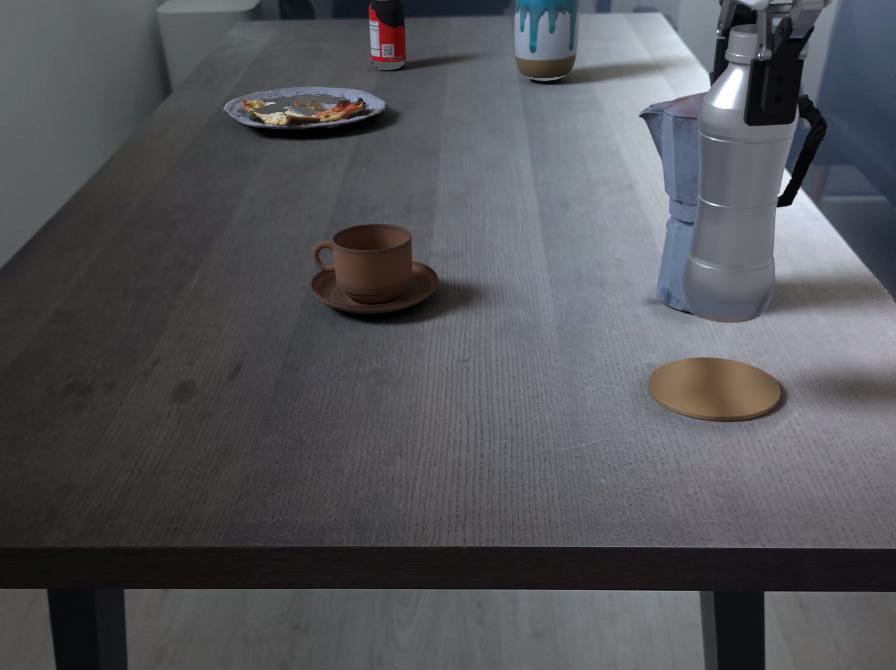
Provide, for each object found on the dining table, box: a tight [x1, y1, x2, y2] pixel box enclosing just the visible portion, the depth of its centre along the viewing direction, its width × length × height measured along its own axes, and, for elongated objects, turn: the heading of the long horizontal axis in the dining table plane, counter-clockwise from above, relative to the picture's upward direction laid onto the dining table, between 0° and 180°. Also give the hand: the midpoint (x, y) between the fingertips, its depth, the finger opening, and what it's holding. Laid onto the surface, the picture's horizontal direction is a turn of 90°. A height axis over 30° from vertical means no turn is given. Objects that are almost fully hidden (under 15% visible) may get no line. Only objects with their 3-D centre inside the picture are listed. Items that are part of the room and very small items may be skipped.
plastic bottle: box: [681, 24, 800, 324], centre depth 72 cm, size 6×7×20 cm
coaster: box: [648, 356, 782, 422], centre depth 81 cm, size 10×10×1 cm
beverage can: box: [368, 0, 407, 62], centre depth 187 cm, size 6×6×12 cm
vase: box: [513, 0, 580, 83], centre depth 171 cm, size 11×11×19 cm
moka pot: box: [637, 71, 828, 313], centre depth 91 cm, size 10×15×20 cm, turn 78°
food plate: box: [222, 86, 388, 130], centre depth 158 cm, size 25×23×4 cm
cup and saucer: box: [310, 223, 439, 315], centre depth 97 cm, size 12×12×6 cm
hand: (750, 108), depth 70 cm, fingers closed on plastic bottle, 6 cm apart
